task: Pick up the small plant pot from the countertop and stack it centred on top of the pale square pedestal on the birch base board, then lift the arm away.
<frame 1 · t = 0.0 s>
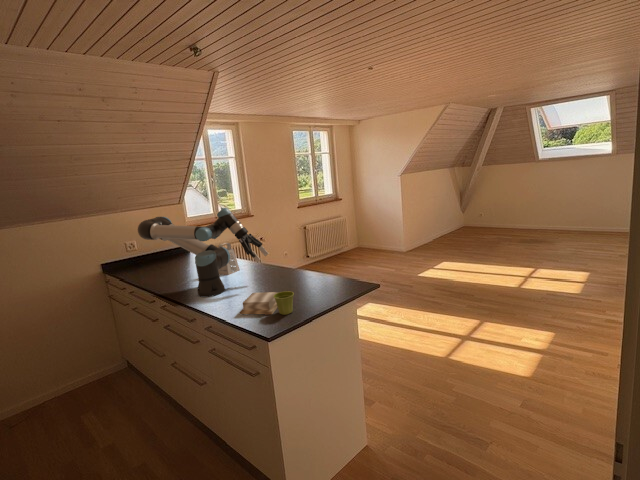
hand: (263, 258, 212), 15 cm above the table, tool tilted 35°, fingers open, 13 cm apart
plant pot: (286, 312, 168), on the table
grater: (229, 272, 249), on the table
pedestal base: (261, 307, 176), on the table
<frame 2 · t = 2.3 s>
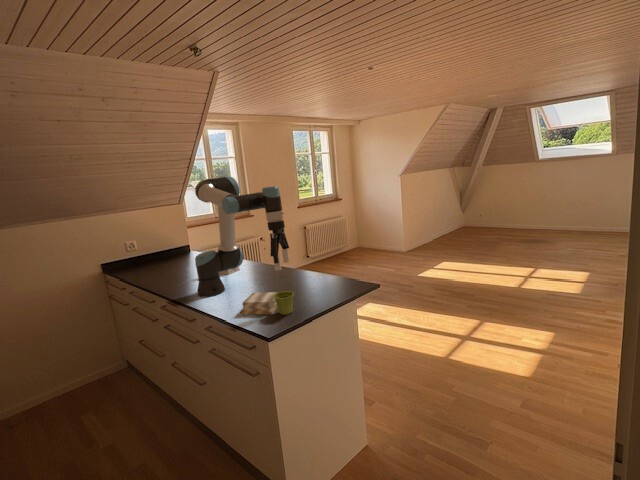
hand: (282, 266, 167), 21 cm above the table, tool pointing down, fingers open, 13 cm apart
nothing on the table moved.
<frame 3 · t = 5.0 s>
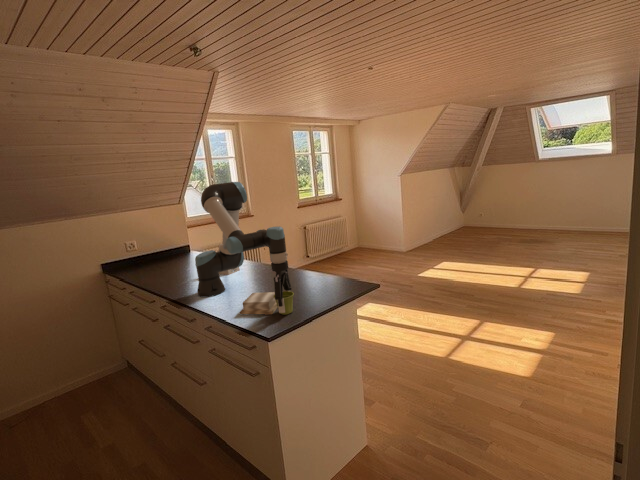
hand: (285, 308, 167), 2 cm above the table, tool pointing down, fingers closed on plant pot, 9 cm apart
plant pot: (286, 312, 168), on the table, touching gripper
everything else where it was.
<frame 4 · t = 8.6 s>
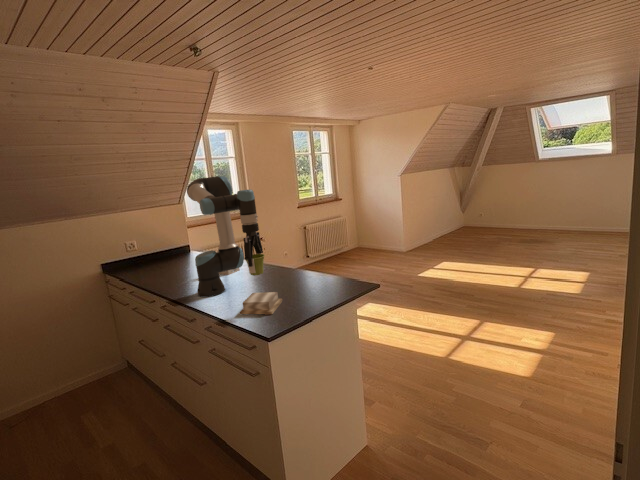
hand: (256, 269, 173), 19 cm above the table, tool pointing down, fingers closed on plant pot, 9 cm apart
plant pot: (257, 274, 173), point 17 cm above the table, touching gripper
everything else where it was.
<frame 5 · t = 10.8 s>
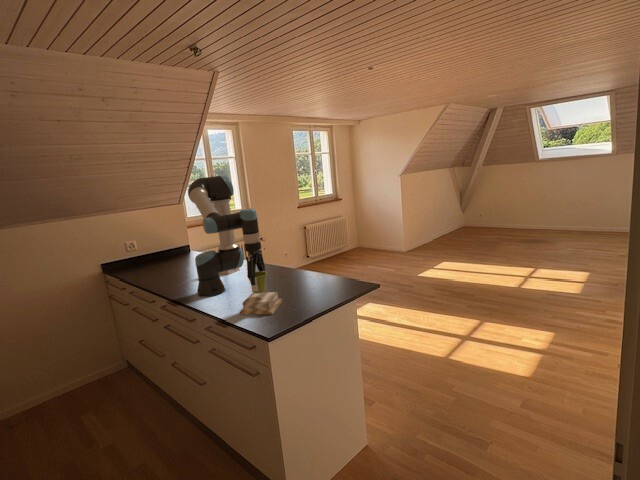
hand: (259, 287, 174), 10 cm above the table, tool pointing down, fingers closed on plant pot, 9 cm apart
plant pot: (259, 291, 175), point 8 cm above the table, touching gripper
everything else where it was.
when the fingers open (8 cm above the table, at t = 12.4 s): plant pot stays where it is, resting on pedestal base.
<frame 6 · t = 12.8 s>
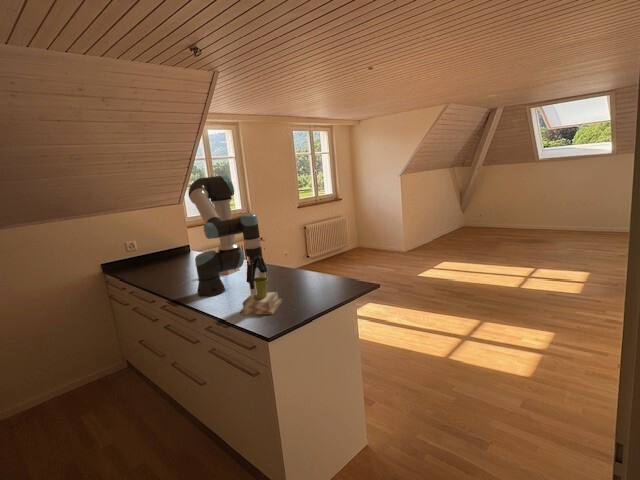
hand: (259, 289, 175), 9 cm above the table, tool pointing down, fingers open, 13 cm apart
plant pot: (260, 297, 176), point 5 cm above the table, touching pedestal base
everything else where it was.
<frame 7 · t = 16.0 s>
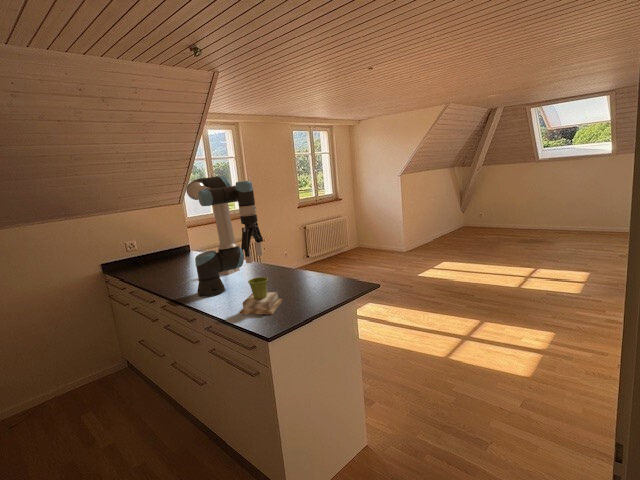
hand: (254, 259, 172), 25 cm above the table, tool pointing down, fingers open, 13 cm apart
nothing on the table moved.
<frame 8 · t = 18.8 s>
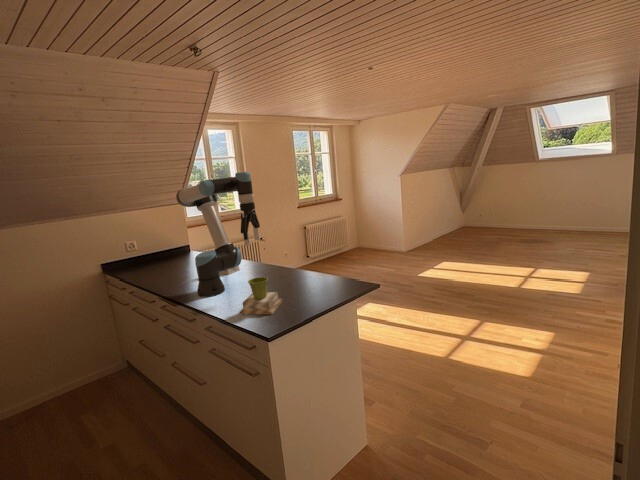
hand: (252, 242, 191), 29 cm above the table, tool pointing down, fingers open, 13 cm apart
nothing on the table moved.
at the end: plant pot inside the target area on the pedestal base (0.1 cm from its centre), point 5.3 cm above the pedestal base's base; plant pot tilted 0°; the gripper is holding nothing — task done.
